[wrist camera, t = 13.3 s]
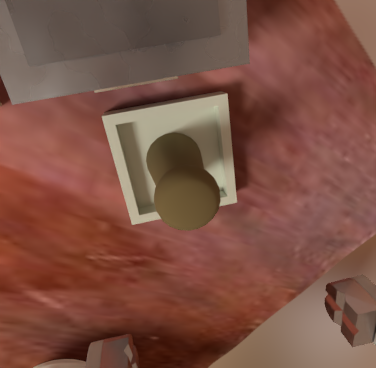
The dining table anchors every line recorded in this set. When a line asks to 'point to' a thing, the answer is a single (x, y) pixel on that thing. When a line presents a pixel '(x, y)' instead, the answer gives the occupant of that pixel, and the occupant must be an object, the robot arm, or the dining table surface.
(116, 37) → the box
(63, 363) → the decorative vase
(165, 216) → the cork
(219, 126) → the tray
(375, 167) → the dining table surface
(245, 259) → the dining table surface
